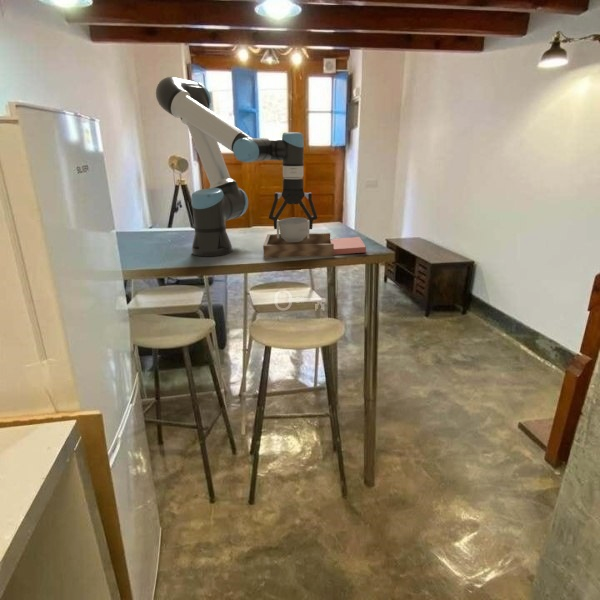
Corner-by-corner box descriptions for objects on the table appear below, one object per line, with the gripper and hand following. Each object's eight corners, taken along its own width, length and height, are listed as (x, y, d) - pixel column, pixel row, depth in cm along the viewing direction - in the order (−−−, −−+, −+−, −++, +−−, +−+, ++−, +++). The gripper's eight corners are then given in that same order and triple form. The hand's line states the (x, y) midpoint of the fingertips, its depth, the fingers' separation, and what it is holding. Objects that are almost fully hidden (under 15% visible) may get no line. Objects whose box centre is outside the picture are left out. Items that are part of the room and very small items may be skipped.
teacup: (304, 244, 153) (304, 222, 151) (275, 243, 155) (275, 221, 153) (311, 236, 166) (311, 216, 163) (284, 235, 168) (284, 215, 165)
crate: (263, 257, 153) (263, 245, 151) (268, 245, 172) (267, 234, 170) (333, 256, 152) (333, 244, 151) (329, 243, 171) (330, 233, 170)
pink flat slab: (333, 249, 153) (365, 246, 153) (329, 239, 169) (359, 236, 169) (333, 254, 154) (366, 252, 153) (330, 244, 170) (359, 241, 170)
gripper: (260, 178, 149) (261, 239, 157) (325, 179, 149) (324, 239, 157) (262, 177, 156) (263, 235, 164) (324, 177, 156) (323, 235, 164)
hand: (293, 237), depth 160 cm, fingers closed on teacup, 11 cm apart
